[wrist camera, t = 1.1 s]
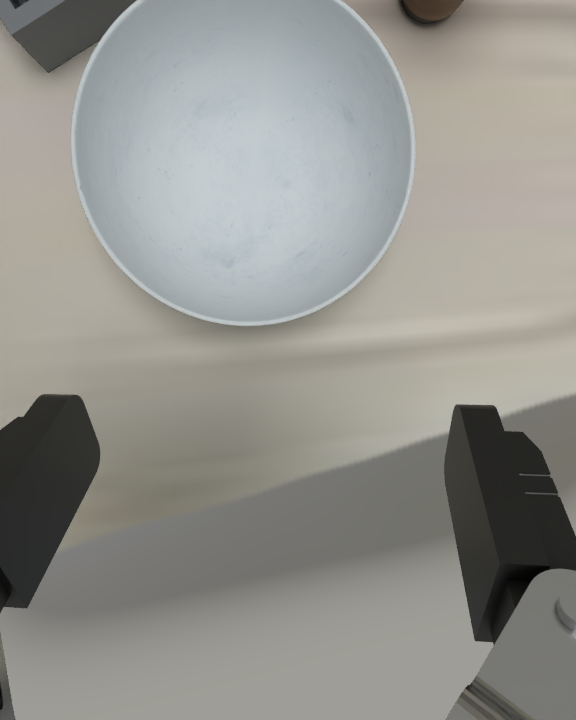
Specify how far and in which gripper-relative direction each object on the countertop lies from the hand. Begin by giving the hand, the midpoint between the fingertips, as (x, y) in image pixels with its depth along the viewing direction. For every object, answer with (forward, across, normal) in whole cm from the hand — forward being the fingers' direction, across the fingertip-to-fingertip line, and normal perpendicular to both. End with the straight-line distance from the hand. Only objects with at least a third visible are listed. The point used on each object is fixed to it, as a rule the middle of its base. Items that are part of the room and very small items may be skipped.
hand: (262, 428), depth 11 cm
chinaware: (+22, +4, +2) cm, 23 cm away
